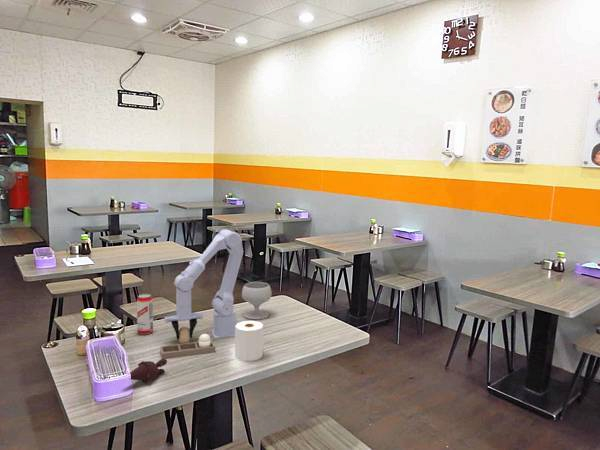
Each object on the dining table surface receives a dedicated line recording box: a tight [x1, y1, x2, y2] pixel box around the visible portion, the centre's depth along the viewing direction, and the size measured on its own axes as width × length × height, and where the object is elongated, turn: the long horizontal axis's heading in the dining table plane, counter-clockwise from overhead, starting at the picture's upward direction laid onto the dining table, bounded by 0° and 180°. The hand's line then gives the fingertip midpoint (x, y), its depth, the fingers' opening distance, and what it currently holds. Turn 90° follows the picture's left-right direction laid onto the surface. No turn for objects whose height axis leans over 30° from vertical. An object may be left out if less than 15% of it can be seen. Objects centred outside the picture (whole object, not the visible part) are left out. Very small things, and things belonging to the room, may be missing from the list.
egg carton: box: [159, 339, 216, 360], centre depth 165 cm, size 20×7×2 cm, turn 112°
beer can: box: [136, 293, 154, 336], centre depth 183 cm, size 6×6×16 cm
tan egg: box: [178, 326, 191, 344], centre depth 175 cm, size 4×4×6 cm
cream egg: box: [198, 333, 211, 348], centre depth 167 cm, size 4×4×6 cm
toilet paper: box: [234, 320, 264, 362], centre depth 163 cm, size 10×10×12 cm
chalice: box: [241, 281, 273, 320], centre depth 207 cm, size 14×14×15 cm
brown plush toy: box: [129, 358, 168, 384], centre depth 143 cm, size 7×7×15 cm
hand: (184, 337), depth 175 cm, fingers closed on tan egg, 4 cm apart
